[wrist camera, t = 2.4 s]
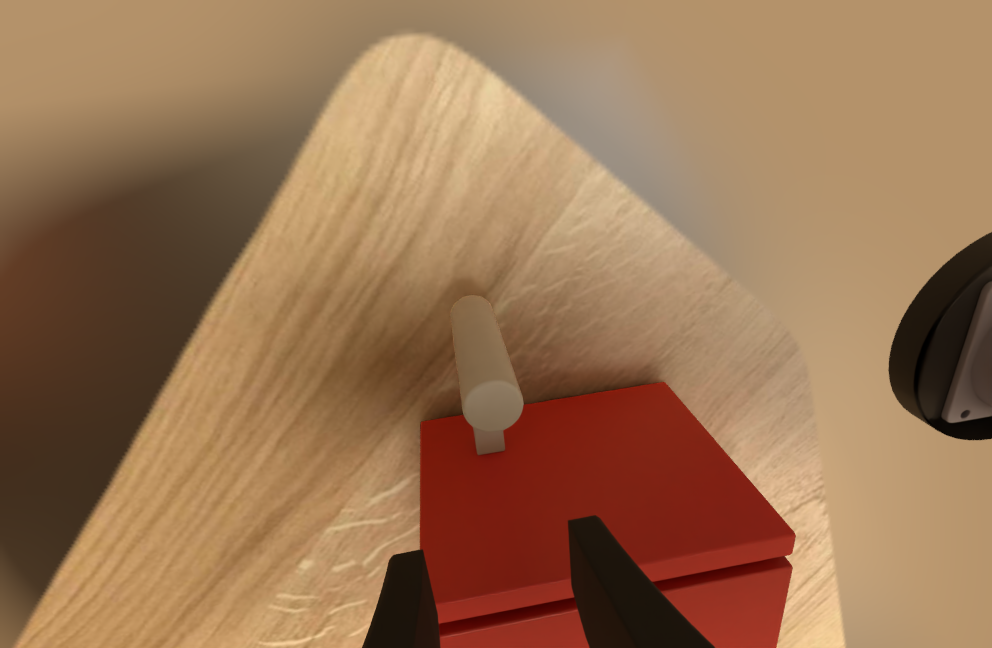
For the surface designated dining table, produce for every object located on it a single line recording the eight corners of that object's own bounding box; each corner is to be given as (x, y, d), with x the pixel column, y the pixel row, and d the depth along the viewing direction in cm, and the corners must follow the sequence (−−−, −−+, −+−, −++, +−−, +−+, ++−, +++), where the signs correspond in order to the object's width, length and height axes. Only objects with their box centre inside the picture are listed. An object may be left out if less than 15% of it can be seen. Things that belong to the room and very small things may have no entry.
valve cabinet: (424, 438, 20) (426, 640, 13) (660, 399, 21) (794, 566, 14) (456, 598, 24) (472, 823, 17) (654, 560, 25) (754, 758, 18)
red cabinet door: (393, 287, 17) (372, 421, 10) (670, 247, 18) (836, 346, 11) (423, 437, 20) (424, 628, 13) (664, 397, 21) (793, 555, 14)
